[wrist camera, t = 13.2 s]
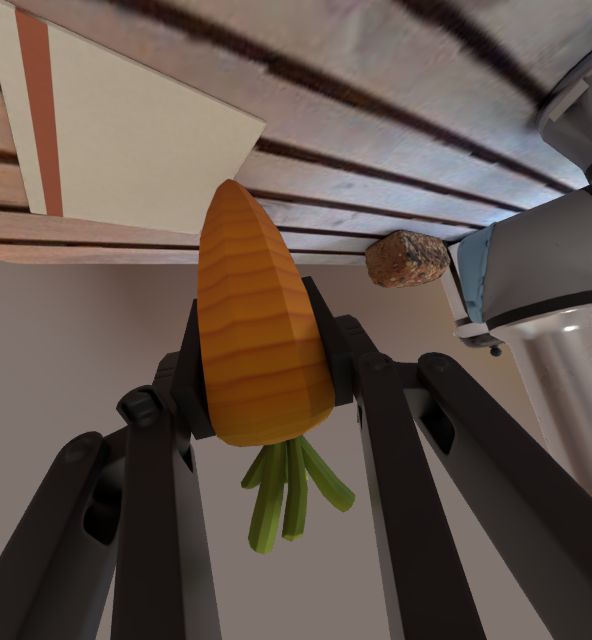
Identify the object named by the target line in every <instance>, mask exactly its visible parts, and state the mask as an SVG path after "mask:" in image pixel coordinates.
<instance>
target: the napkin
mask: <svg viewBox="0 0 592 640" xmlns="http://www.w3.org/2000/svg"><path fill="white" fill-rule="evenodd" d="M0 84H1V88H2V92H3V97H4V101H5V105H6V109H7V114H8V118H9V122H10V126H11V131H12V135H13V139H14V143H15V148H16V152H17V156H18V160H19V165H20V169H21V173H22V178H23V182H24V186H25V190H26V195H27V199H28V203H29V207H30V212H31V213H37V214H45V215H51V216H59V217H67V218H75V219H82V220H89V221H97V222H104V223H112V224H119V225H127V226H134V227H142V228H149V229H156V230H164V231H171V232H179V233H186V234H194V235H198V234H199V233H200V231H201V230H202V228H203V225H204V221H205V217H206V213H207V210H208V208H209V206H210V203H211V201H212V199H213V196H214V194H215V192H216V189H217V187H218V186H219V185H221V184H222V183H223V182H224V181H225V180H227V179H231V180H233V178H234V177H235V175H236V174H237V172H238V170H239V169H240V167H241V165H242V164H243V162H244V161H245V159H246V157H247V156H248V154H249V153H250V151H251V149H252V148H253V146H254V145H255V143H256V141H257V140H258V138H259V137H260V135H261V133H262V132H263V130H264V129H265V127H266V125H267V123H266V121H264V120H261V119H259V118H257V117H255V116H253V115H251V114H249V113H246V112H244V111H242V110H240V109H238V108H236V107H233V106H231V105H229V104H227V103H225V102H223V101H220V100H218V99H216V98H214V97H212V96H210V95H208V94H205V93H203V92H201V91H199V90H197V89H195V88H192V87H190V86H188V85H186V84H184V83H182V82H179V81H177V80H175V79H173V78H171V77H169V76H167V75H164V74H162V73H160V72H158V71H156V70H154V69H151V68H149V67H147V66H145V65H143V64H141V63H138V62H136V61H134V60H132V59H130V58H128V57H126V56H123V55H121V54H119V53H117V52H115V51H113V50H110V49H108V48H106V47H104V46H102V45H100V44H97V43H95V42H93V41H91V40H89V39H87V38H84V37H82V36H80V35H78V34H76V33H74V32H72V31H69V30H67V29H65V28H63V27H61V26H59V25H56V24H54V23H52V22H50V21H48V20H46V19H43V18H41V17H39V16H37V15H35V14H33V13H31V12H28V11H26V10H24V9H22V8H20V7H18V6H15V5H13V4H11V3H9V2H7V1H5V0H0Z"/></svg>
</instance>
